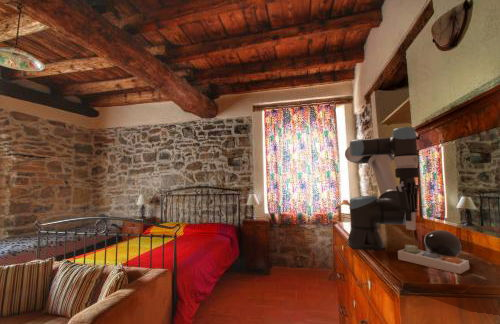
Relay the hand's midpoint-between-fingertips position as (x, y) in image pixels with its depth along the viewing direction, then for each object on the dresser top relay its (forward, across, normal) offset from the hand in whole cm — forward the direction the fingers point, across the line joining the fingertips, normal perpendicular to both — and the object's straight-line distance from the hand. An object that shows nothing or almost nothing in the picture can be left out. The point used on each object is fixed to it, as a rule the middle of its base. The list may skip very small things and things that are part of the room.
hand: (410, 229), depth 87 cm
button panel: (+11, -1, -6) cm, 13 cm away
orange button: (+10, -1, -12) cm, 15 cm away
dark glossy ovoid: (+7, +15, -6) cm, 18 cm away
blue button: (+10, -1, -6) cm, 11 cm away
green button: (+9, -1, 0) cm, 9 cm away
